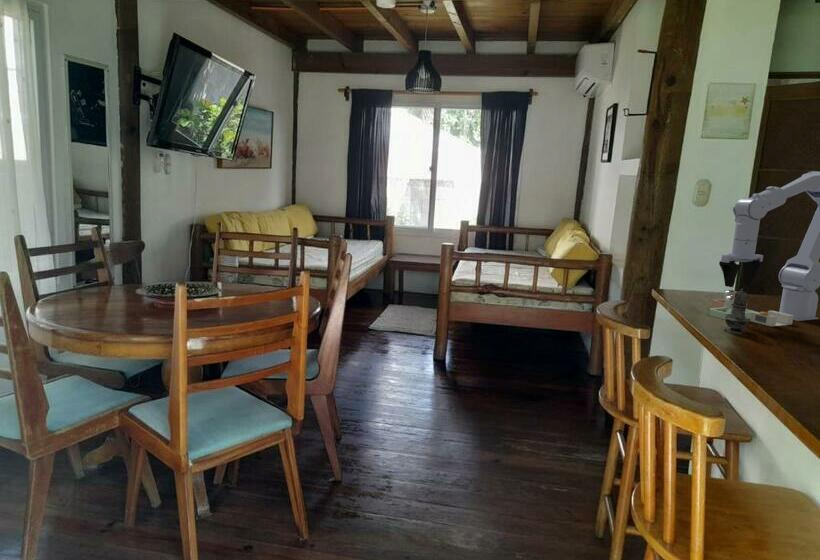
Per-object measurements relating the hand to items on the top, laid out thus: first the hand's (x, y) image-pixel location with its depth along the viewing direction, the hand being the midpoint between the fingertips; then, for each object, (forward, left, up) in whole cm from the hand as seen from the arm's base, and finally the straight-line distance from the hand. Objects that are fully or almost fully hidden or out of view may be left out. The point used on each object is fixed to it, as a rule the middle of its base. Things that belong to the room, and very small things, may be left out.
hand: (738, 286), depth 154 cm
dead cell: (-7, -8, -9) cm, 14 cm away
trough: (0, -1, -10) cm, 10 cm away
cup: (-7, -8, -10) cm, 14 cm away
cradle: (-5, +7, -10) cm, 14 cm away
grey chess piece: (+14, +11, -10) cm, 20 cm away
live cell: (+1, -1, -9) cm, 9 cm away
